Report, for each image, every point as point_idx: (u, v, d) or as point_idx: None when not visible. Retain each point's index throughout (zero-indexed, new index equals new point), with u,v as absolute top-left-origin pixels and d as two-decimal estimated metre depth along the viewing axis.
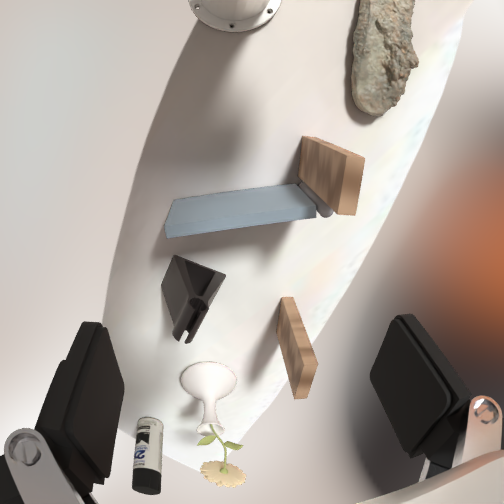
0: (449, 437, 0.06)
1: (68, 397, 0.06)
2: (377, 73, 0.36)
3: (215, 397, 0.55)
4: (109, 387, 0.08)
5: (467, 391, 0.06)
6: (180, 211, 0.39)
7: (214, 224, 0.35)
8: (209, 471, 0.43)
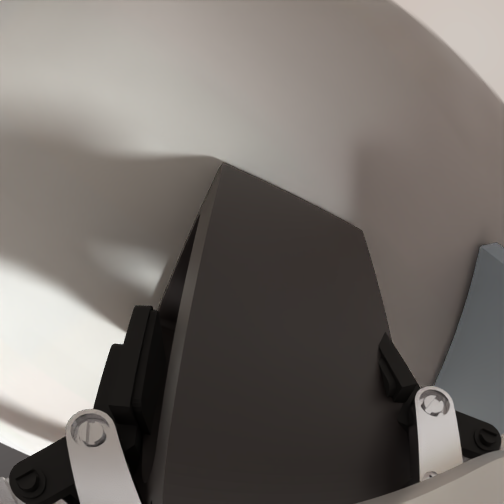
0: None
1: (133, 375, 0.07)
2: None
3: None
4: (160, 368, 0.09)
5: (412, 379, 0.07)
6: None
7: None
8: None
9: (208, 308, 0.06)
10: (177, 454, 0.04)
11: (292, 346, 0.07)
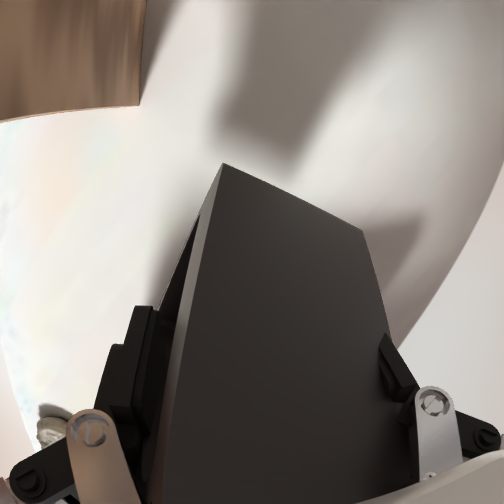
0: None
1: (133, 375, 0.07)
2: None
3: None
4: (160, 368, 0.09)
5: (412, 380, 0.07)
6: None
7: None
8: None
9: (208, 308, 0.06)
10: (177, 455, 0.04)
11: (292, 346, 0.07)
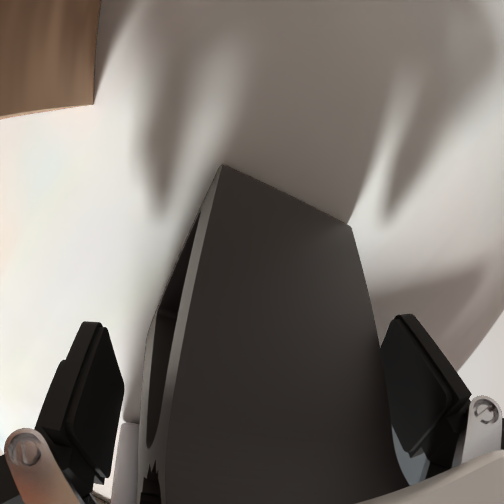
0: (449, 437, 0.06)
1: (68, 397, 0.06)
2: None
3: None
4: (109, 387, 0.08)
5: (467, 391, 0.06)
6: None
7: None
8: None
9: (208, 290, 0.07)
10: (179, 414, 0.05)
11: (282, 326, 0.08)
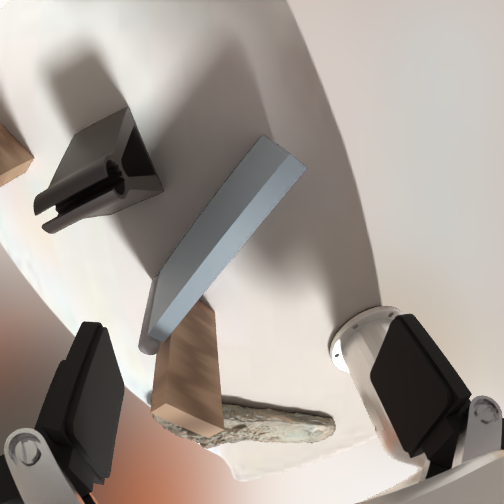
0: (449, 437, 0.06)
1: (68, 397, 0.06)
2: None
3: None
4: (109, 387, 0.08)
5: (467, 391, 0.06)
6: None
7: (243, 230, 0.21)
8: None
9: (62, 162, 0.21)
10: (51, 184, 0.19)
11: (80, 153, 0.21)
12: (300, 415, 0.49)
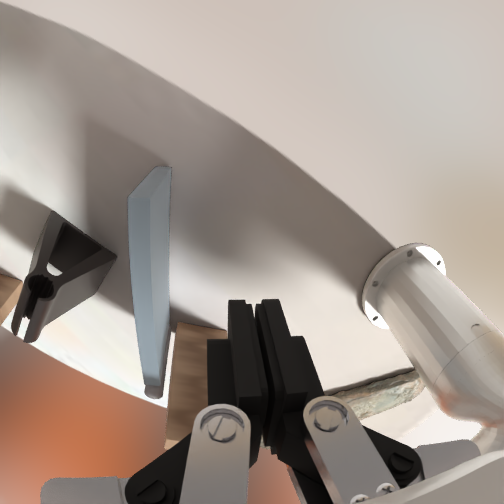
0: (284, 436, 0.06)
1: (253, 365, 0.07)
2: None
3: None
4: None
5: (302, 387, 0.07)
6: (160, 201, 0.23)
7: (142, 277, 0.21)
8: None
9: None
10: None
11: (30, 271, 0.25)
12: (376, 384, 0.45)
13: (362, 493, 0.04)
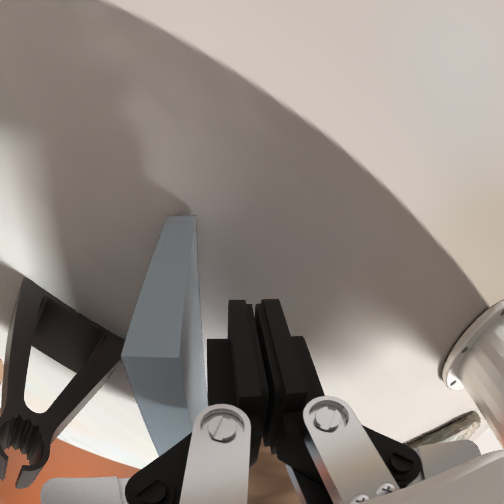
0: (284, 436, 0.06)
1: (253, 365, 0.07)
2: None
3: None
4: None
5: (302, 387, 0.07)
6: (190, 306, 0.12)
7: None
8: None
9: (2, 389, 0.14)
10: None
11: (4, 381, 0.13)
12: (430, 438, 0.34)
13: (362, 493, 0.04)
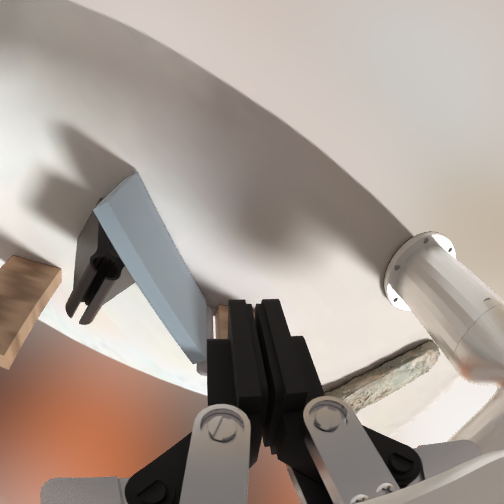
0: (284, 437, 0.06)
1: (253, 365, 0.07)
2: None
3: None
4: None
5: (302, 387, 0.07)
6: (130, 201, 0.26)
7: (137, 266, 0.24)
8: None
9: (75, 267, 0.29)
10: (73, 289, 0.26)
11: (82, 255, 0.28)
12: (386, 365, 0.48)
13: (362, 493, 0.04)
